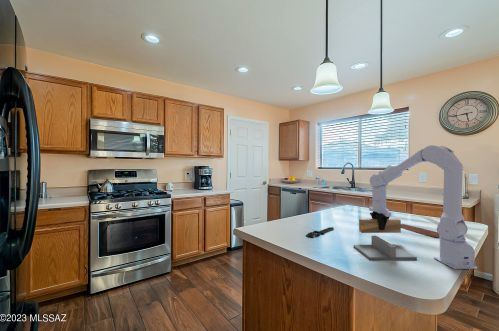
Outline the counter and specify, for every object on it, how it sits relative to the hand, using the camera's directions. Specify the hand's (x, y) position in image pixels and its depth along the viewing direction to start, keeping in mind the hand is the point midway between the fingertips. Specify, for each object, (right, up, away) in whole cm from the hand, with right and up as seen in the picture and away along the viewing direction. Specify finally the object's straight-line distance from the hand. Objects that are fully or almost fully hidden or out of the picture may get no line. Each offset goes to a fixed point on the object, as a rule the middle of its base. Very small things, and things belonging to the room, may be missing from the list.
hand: (379, 228), depth 108 cm
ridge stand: (-6, -6, -13) cm, 16 cm away
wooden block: (0, -2, 0) cm, 2 cm away
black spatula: (-22, -7, +17) cm, 29 cm away
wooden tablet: (+32, -7, +19) cm, 38 cm away
